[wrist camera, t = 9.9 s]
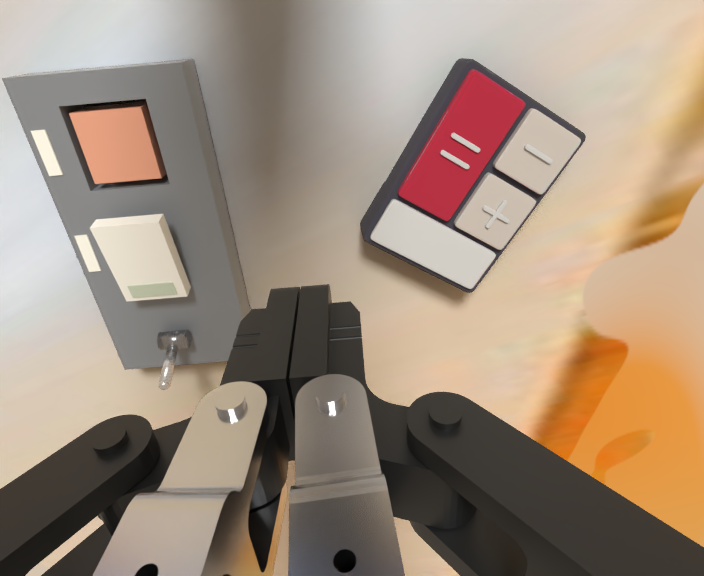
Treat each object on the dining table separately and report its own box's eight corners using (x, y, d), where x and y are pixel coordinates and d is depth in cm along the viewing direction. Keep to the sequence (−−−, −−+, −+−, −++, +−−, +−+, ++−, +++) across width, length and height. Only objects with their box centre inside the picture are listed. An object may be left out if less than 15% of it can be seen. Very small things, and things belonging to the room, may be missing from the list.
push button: (87, 106, 34) (68, 113, 32) (154, 100, 34) (140, 107, 32) (110, 173, 37) (94, 183, 34) (172, 167, 37) (161, 178, 34)
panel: (28, 73, 33) (-4, 79, 30) (193, 59, 33) (178, 63, 30) (136, 349, 46) (122, 373, 43) (257, 339, 46) (251, 363, 43)
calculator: (594, 137, 33) (474, 299, 39) (567, 128, 37) (460, 277, 43) (472, 56, 31) (361, 243, 36) (456, 55, 34) (357, 224, 40)
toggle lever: (159, 328, 40) (144, 385, 37) (186, 325, 40) (174, 383, 37) (166, 338, 42) (152, 394, 38) (192, 336, 42) (181, 392, 38)
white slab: (96, 219, 34) (89, 228, 33) (163, 213, 34) (158, 222, 33) (131, 292, 39) (126, 302, 38) (190, 287, 38) (187, 297, 37)
